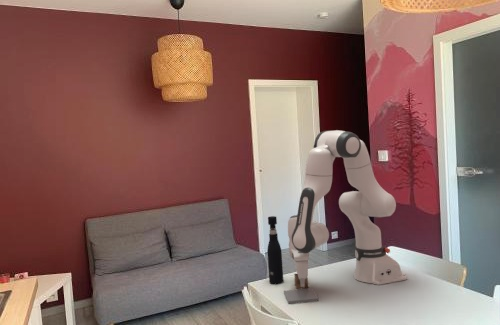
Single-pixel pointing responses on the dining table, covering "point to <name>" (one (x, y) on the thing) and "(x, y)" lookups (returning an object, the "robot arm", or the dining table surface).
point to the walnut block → (297, 282)
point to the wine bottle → (274, 254)
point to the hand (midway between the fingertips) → (301, 282)
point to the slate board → (300, 296)
